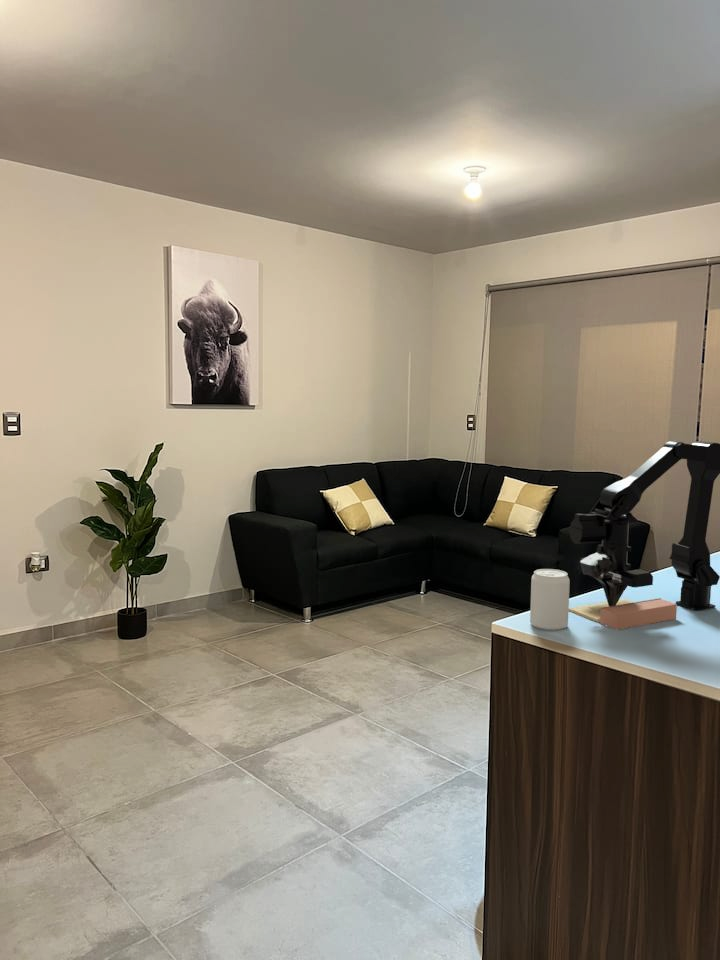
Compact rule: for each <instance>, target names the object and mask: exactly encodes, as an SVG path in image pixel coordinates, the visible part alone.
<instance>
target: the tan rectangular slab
mask: <svg viewBox="0 0 720 960" xmlns="http://www.w3.org/2000/svg"><path fill="white" fill-rule="evenodd" d="M634 602H635V601H632V600H630V599H626V598H625V599H624V598H623V599H619V601H618V602H617V604H616V605H621V604H628V603H634ZM603 607H609V605H608V602H607V601H604V602H598V603H592V604H585V605H578V606H572V607H569V611H568V612H571V613H573V614H576V615H578V616H580V617H583V618H585V619H588V620H590V619H591V621H593V622H595V621H596V622H595V623H598V622H600V608H603Z"/></svg>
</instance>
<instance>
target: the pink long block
mask: <svg viewBox="0 0 720 960" xmlns="http://www.w3.org/2000/svg"><path fill="white" fill-rule="evenodd" d="M633 602H634V603H628V604H621V605H615V606H609V607H603V608H600V623H601V625H603V624H604V625H603V626H605V625H607V626H606V627H608V626H609V627H608V628H610V627H611V629H613V628H614V629H613V630H615V629H619V630H623V629H622V628H624V629H628V628H627V627H630V628H635V627H639V626H640V625H641V626H645V625H651V624H650V623H652V624H656V622H657V623H662V622H661V621H663V622H668V621H667V620H669V621H672V620H673V619H674V620H677V611H678V609H677V608H678V604H676V602H671V601H668V600H665V599H662V598H660V597H659V598H653V599H647V600H646V599H645V600H641V601H636V602H635V601H633ZM600 623H599V624H600ZM634 626H635V627H634Z"/></svg>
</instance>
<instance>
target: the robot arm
mask: <svg viewBox="0 0 720 960" xmlns="http://www.w3.org/2000/svg"><path fill="white" fill-rule="evenodd" d="M681 460H686V468H687V469H688V472H689V475H690V484H689V485H690V486H689V493H688V500H687V506H686V514H685V522H684V526H683V527H684V528H683V529H684V530H683V536H682V538H680V540H679V541H678V542H677V543H676V542H675V543H674V542H673V543H672V545H671V552H670V553H671V554H670V557H669V558H668V559H669V560H671V567H672V568H673V570H675V573H676V577H677V578H679V579H683V580H682V582H681V588H680V600H677V601H675V604H677V606H678V605H679V606H682V607H685V608H687V609H692V610H694V611H703V610H708V609H713V608H714V609H715V608H716V605H715V604H712V603H711V596H712V595H711V594H712V593H711V592H712V590H711V589H712V587H713V586H717V585H718V582H719V580H720V575H719V573H718V572H717V571H716V570H715V569H713V568H712V566H711V551H710V549H709V547H708V544H707V540H706V539H707V534H708V533H707V532H708V527H709V517H710V514H711V513H710V511H711V505H712V498H713V493H714V492H713V490H714V485H715V480H716V479H717V478H718V477H719V475H720V443H718V442H712V441H703V440H697V441H694V442H693V443H691V444H690V443H684V442H681V441H674V440H670V441H667V442H665V443H664V444H663V446H662V447H660V449H659V450H657V452H655V453H654V454H653V455H652V456H651V457H649V459H647V460H646V461H644V463H643V464H641V466H639V467H638V468H637V469H635V470H634V471H633V472H632V473H631V474H630V475H628V476H627V477H625V478H623V479H621V480H617V481H615V482H613V483H612V484H610V485H608V486H606V487H604V488H603V490H602V491H600V494H599V498H598V500H597V501H596V503H595V504H594V505H593V507H592V508H591V509H590V511H589V512H588V513H574V519H572V521H571V523H570V526H569V527H568V529H569V531H568V532H569V533H568V534H569V536H570V539H571V541H572V542H573V543H574V544H576V545H577V544H579V545H581V544H595V543H596V544H598V543H601V544H598V545H597V546H596V552H595V553H592V554H589V555H588V556H586V557H580V558H579V559H578V561H577V562H576V570H577V571H581V572H582V574H583V575H586V576H590V577H592V578H594V579H595V580H597V581H598V582H599V583H600V584H601V586H602V588H603V591H604V595H605V599H606V602H608V605H609V606H615V605H616V604H617V602H618V601H619V600H621V597H622V595H623V593H624V592H625V590H626V589H627V588H628V587H630V588H643V587H648V586H653V585H654V583H653V582H654V576H653V574H652V573H651V572H650V571H645V570H643V569H639V568H638V569H633V570H630V569H631V568H632V567H631V566H632V564H631V563H628V553H629V552H632V548H633V547H632V546H629V529H630V527H629V525H630V524H637V523H638V522H639V520H638V519H637V518H636V517H635V516H634V515H633V513H632V511H633V510H634V509H635V507H636V506H637V505H638V503H639V502H640V501H641V498H642V497H643V496H642V495H643V494H644V492H645V491H646V490H647V489H648V488H650V486H652V485H653V484H654V483H655V482H656V481H658V480H659V478H662V476H663V475H664V474H666V473H667V472H668V471H669V470H670V469H671V468H672V467H674V466H675V465H676V464H677V463H678V462H679V461H681Z"/></svg>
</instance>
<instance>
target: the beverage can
mask: <svg viewBox="0 0 720 960" xmlns="http://www.w3.org/2000/svg"><path fill="white" fill-rule="evenodd" d="M568 575H569V574H568V572H566V571H564V570H560V569H554V568H539V569H536V570H534V571H533V574H532V576H531V582H530V584H531V585H530V609H529V610H530V615H529V616H530V617H529V622H530V624H531V625H532V626H534V627H535V628H538V629H540V630H543V629H544V631H559V630H562V629H566V628H567V627H568V625H569V612H570V611H569V608H570V606H569V605H570V604H569V603H570V585H571V584H570V581H571V580H570V578H569V576H568Z"/></svg>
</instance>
